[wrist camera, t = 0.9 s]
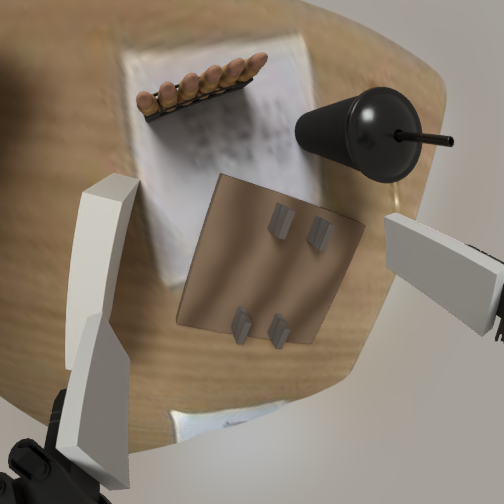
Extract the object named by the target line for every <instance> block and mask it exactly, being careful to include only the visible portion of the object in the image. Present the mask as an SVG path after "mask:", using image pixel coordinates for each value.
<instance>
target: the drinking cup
mask: <svg viewBox="0 0 504 504" xmlns="http://www.w3.org/2000/svg"><path fill="white" fill-rule="evenodd" d="M295 136H296V139H297V142H298V143H299V145H300V146H301V147H302V148H303V149H305V150H306V151H309V152H311V153H314V154H317V155H320V156H322V157H325V158H328V159H330V160H333V161H335V162H338V163H341V164H343V165H346V166H348V167H351V168H353V169H356V170H358V171H360V172H361V173H362V174H364V175H365V176H366V177H368V178H369V179H371V180H374V181H376V182H380V183H394V182H397V181H399V180H401V179H403V178H404V177H406V176H407V175H408V174H409V173H410V172H411V171H412V170H413V168H414V167H415V165H416V163H417V161H418V159H419V156H420V153H421V149H422V143H426V144H433V145H440V146H447V147H452V146H453V145H454V139H453V138H452V137H451V136H444V135H435V134H425V133H422V127H421V123H420V119H419V117H418V114H417V112H416V110H415V108H414V107H413V105H412V104H411V102H410V101H409V100H408V99H407V98H406V97H405V96H404V95H402V94H401V93H400V92H398V91H396V90H394V89H391V88H387V87H375V88H371V89H368V90H366V91H364V92H363V93H361V94H360V95H359V96H356V97H352V98H349V99H346V100H343V101H340V102H337V103H334V104H331V105H328V106H325V107H322V108H319V109H316V110H313V111H310V112H308V113H305V114H304V115H302V116H301V117H300V118H299V119H298V121H297V123H296V126H295Z"/></svg>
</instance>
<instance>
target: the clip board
mask: <svg viewBox="0 0 504 504" xmlns="http://www.w3.org/2000/svg"><path fill="white" fill-rule="evenodd" d="M365 226H366V225H364V224H362V223H360V222H358V221H355V220H353V219H350V218H348V217H345V216H342V215H340V214H337V213H335V212H332V211H329V210H327V209H324V208H321V207H318V206H316V205H313V204H310V203H307V202H305V201H302V200H299V199H296V198H293V197H291V196H288V195H285V194H282V193H279V192H276V191H273V190H270V189H267V188H264V187H261V186H258V185H255V184H252V183H249V182H246V181H243V180H240V179H237V178H234V177H231V176H228V175H224V174H221V173H220V175H219V178H218V181H217V184H216V187H215V190H214V193H213V196H212V199H211V202H210V205H209V208H208V211H207V214H206V217H205V221H204V224H203V227H202V230H201V233H200V236H199V240H198V243H197V246H196V249H195V253H194V256H193V259H192V263H191V266H190V269H189V273H188V276H187V280H186V283H185V287H184V290H183V294H182V297H181V301H180V304H179V308H178V312H177V315H176V324H179V325H184V326H189V327H195V328H200V329H206V330H212V331H218V332H224V333H230V334H233V335H234V337H235V340H236V343H237V344H244V341H245V339H246V336H249V337H256V338H264V339H271V341H272V343H273V345H274V347H275V349H282V347H283V345H284V343H285V341H287V342H295V343H304V344H312V342H313V340H314V338H315V336H316V334H317V332H318V330H319V328H320V326H321V324H322V322H323V320H324V318H325V316H326V314H327V312H328V310H329V308H330V306H331V304H332V302H333V299H334V297H335V295H336V293H337V291H338V289H339V287H340V284H341V282H342V280H343V278H344V276H345V273H346V271H347V269H348V266H349V264H350V262H351V260H352V257H353V255H354V253H355V250H356V248H357V246H358V243H359V241H360V238H361V236H362V233H363V231H364V229H365Z"/></svg>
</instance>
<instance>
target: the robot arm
mask: <svg viewBox="0 0 504 504" xmlns="http://www.w3.org/2000/svg"><path fill="white" fill-rule="evenodd" d="M384 224H385V244H386V267H387V268H388V269H389V270H391V271H392V272H394V273H395V274H397V275H398V276H400V277H401V278H403V279H404V280H405V281H407V282H409V283H410V284H411V285H413V286H414V287H415V288H417V289H418V290H420V291H421V292H422V293H424V294H425V295H427V296H428V297H429V298H431V299H432V300H434V301H435V302H436V303H438V304H439V305H441V306H442V307H443V308H444V309H446V310H447V311H449V312H450V313H451V314H453V315H454V316H455V317H457V318H458V319H459V320H461V321H462V322H463V323H465V324H466V325H467V326H468V327H470V328H471V329H472V330H474V331H475V332H476V333H478V334H479V335H480V336H481V337H482V336H483V335H485V334H486V333H487V332H488V331H489V330H491V329H492V327H493V325H494V321H495V317H496V315H497V316H499V317H500V318H501V320H500V324H499V327H498V330H497V333H496V337H495V341H498V338H499V335H500V334H502V338H501V341H503V342H504V262H502V261H500V260H498V259H496V258H494V257H492V256H491V255H487V253H485V252H483V251H480V250H479V249H477V248H475V247H473V246H471V245H467V244H463V243H461V242H459V241H457V240H455V239H453V238H451V237H449V236H447V235H445V234H443V233H441V232H438V231H436V230H434V229H432V228H430V227H428V226H425V225H423V224H421V223H419V222H417V221H414V220H412V219H410V218H408V217H405V216H403V215H401V214H398V213H393V214H390V215H387V216H384ZM129 375H130V358H129V356H128V355H127V353H126V351H125V350H124V348H123V346H122V345H121V343H120V341H119V340H118V338H117V336H116V335H115V333H114V331H113V329H112V327H111V326H110V324H109V322H108V320H107V318H106V317H105V315H104V313H103V312H100V313H97V314H94V315H91V316H88V317H87V320H86V324H85V327H84V330H83V333H82V336H81V340H80V343H79V346H78V350H77V353H76V357H75V361H74V364H73V368H72V372H71V376H70V380H69V384H68V388H67V389H63V390H61V391H60V392H59V394H58V396H57V397H56V399H55V401H54V404H53V409H52V414H51V417H50V423H49V426H48V431H47V436H46V441H45V447H44V449H43V448H42V447H41V446H39V445H38V444H37V443H36V442H35V441H34V440H32V439H29V438H27V439H22V440H20V441H19V442H17V443H16V444H15V445H14V447H13V448H12V449H11V452H10V454H9V458H8V464H9V468H10V469H12V470H13V471H14V472H15V473H16V474H18V475H19V476H20V478H17V479H12V478H11V477H10V476H8V475H7V474H6V473H3V472H0V504H112V503H111V502H110V501H109V500H108V499H107V498H106V497H105V496H104V495H102V494H101V493H100V484H101V485H103V486H104V487H106V488H107V489H108V490H121V489H129V488H130V486H129V485H130V484H129V464H128V463H129V462H128V399H129Z"/></svg>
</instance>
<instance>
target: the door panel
mask: <svg viewBox="0 0 504 504" xmlns="http://www.w3.org/2000/svg"><path fill="white" fill-rule="evenodd" d="M139 181H140V180H139V179H135V178H131V177H127V176H123V175H119V174H115V173H113V174H111V175H109V176H108V177H106V178H104V179H103V180H101V181H99V182H98V183H96V184H95V185H93V186H91V187H90V188H88V189H87V190H85V191H83V192H82V197H81V202H80V207H79V212H78V217H77V223H76V229H75V235H74V242H73V249H72V256H71V264H70V273H69V283H68V295H67V311H66V337H65V365H66V369H68V370H72V368H73V364H74V361H75V357H76V353H77V350H78V346H79V343H80V340H81V336H82V333H83V330H84V327H85V324H86V320H87V317H88V316H91V315H94V314H97V313H100V312H103V313H104V315H105V317H106V318H107V320H108V322H109V319H110V315H111V311H112V306H113V299H114V293H115V287H116V282H117V276H118V271H119V265H120V260H121V255H122V250H123V246H124V241H125V237H126V232H127V228H128V223H129V219H130V215H131V211H132V207H133V203H134V199H135V196H136V192H137V188H138V184H139Z"/></svg>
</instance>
